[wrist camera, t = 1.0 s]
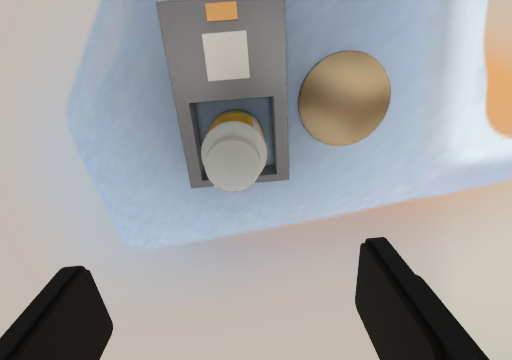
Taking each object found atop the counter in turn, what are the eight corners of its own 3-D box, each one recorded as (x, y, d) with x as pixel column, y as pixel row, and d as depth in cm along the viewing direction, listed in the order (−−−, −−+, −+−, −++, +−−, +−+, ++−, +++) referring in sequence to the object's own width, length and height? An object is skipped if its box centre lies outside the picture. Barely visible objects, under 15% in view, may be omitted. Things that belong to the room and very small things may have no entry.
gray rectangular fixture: (164, 8, 23) (154, 1, 20) (280, -1, 23) (285, -9, 20) (195, 178, 30) (190, 189, 27) (285, 170, 30) (289, 181, 27)
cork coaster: (298, 55, 25) (299, 54, 24) (393, 47, 25) (396, 47, 25) (298, 147, 29) (299, 149, 28) (382, 140, 29) (384, 142, 28)
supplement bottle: (272, 134, 28) (286, 167, 19) (236, 168, 29) (234, 214, 21) (235, 96, 26) (232, 113, 17) (199, 134, 28) (179, 168, 19)
